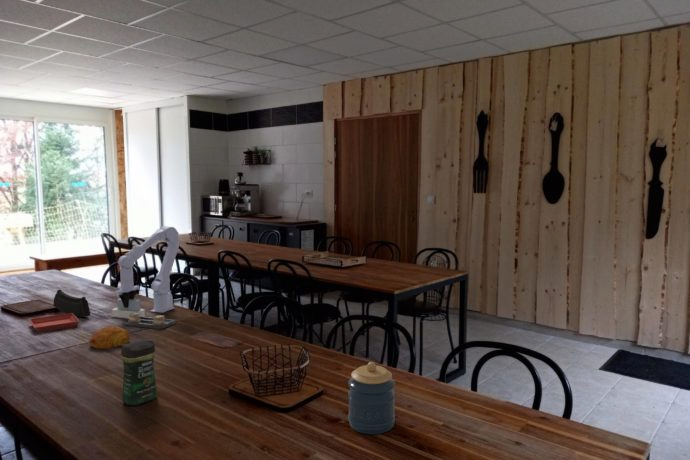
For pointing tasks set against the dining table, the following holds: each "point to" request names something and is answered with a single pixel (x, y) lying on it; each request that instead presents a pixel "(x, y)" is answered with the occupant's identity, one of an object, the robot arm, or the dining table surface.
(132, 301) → the chamfered blue-grey beam
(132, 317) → the birch offcut stack
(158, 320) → the birch offcut
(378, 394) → the canister
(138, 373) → the coffee jar
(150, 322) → the rack
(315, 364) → the dining table surface
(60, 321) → the plant saucer
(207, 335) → the wooden tablet
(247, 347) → the dining table surface
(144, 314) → the holder
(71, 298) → the magazine
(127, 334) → the croissant
